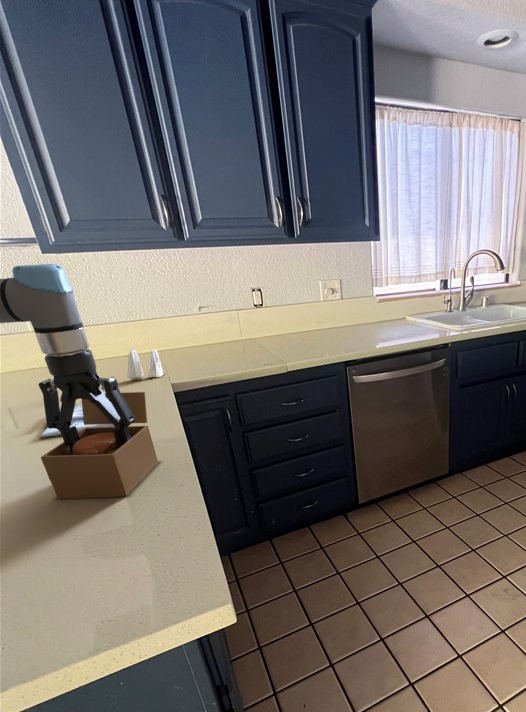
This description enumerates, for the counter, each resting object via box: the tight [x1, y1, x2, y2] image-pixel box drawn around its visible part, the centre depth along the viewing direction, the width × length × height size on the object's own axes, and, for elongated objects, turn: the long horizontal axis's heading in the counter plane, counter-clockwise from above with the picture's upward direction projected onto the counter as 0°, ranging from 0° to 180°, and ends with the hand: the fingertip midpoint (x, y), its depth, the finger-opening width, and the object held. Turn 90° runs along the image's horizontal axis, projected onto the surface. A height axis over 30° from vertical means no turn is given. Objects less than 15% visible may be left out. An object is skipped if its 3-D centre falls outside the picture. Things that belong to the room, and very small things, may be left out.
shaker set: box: [126, 349, 164, 381], centre depth 157 cm, size 12×4×11 cm, turn 123°
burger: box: [72, 433, 119, 455], centre depth 89 cm, size 10×9×5 cm
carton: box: [40, 425, 159, 499], centre depth 91 cm, size 14×14×10 cm
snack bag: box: [40, 405, 115, 439], centre depth 123 cm, size 19×20×2 cm
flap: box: [81, 391, 148, 425], centre depth 95 cm, size 14×7×1 cm
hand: (103, 456), depth 90 cm, fingers closed on burger, 9 cm apart
